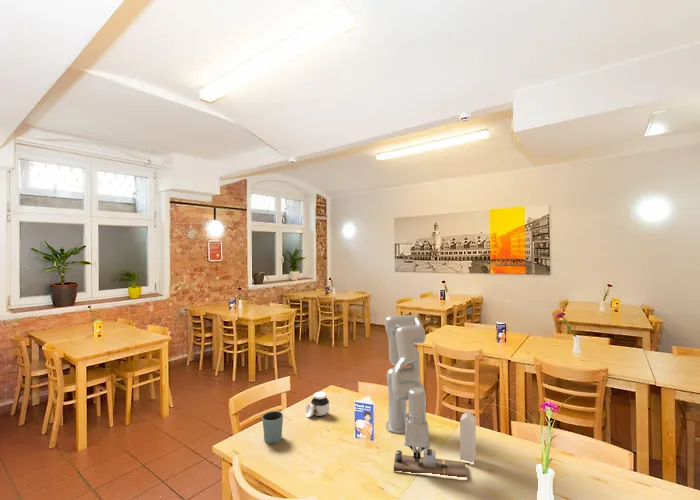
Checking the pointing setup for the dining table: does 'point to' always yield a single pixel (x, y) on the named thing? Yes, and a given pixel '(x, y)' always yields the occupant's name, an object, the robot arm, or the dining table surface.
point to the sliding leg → (429, 458)
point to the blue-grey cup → (272, 426)
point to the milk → (468, 437)
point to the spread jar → (318, 405)
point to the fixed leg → (399, 456)
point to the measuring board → (441, 468)
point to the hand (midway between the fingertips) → (417, 460)
